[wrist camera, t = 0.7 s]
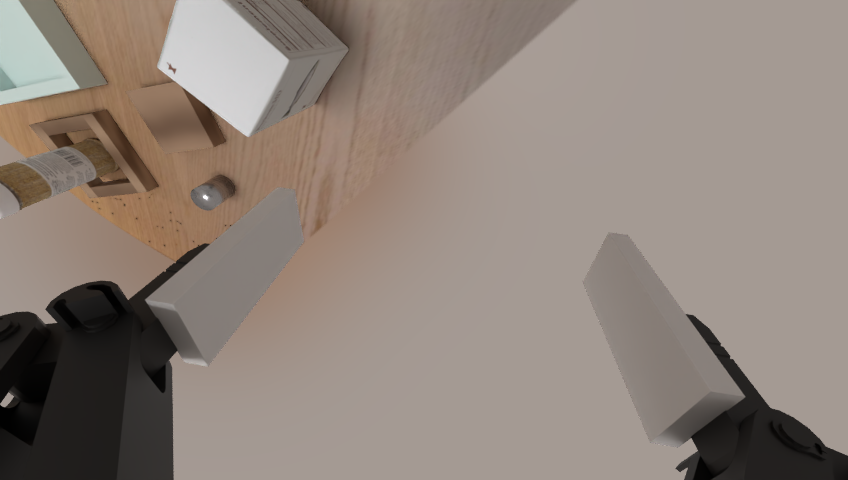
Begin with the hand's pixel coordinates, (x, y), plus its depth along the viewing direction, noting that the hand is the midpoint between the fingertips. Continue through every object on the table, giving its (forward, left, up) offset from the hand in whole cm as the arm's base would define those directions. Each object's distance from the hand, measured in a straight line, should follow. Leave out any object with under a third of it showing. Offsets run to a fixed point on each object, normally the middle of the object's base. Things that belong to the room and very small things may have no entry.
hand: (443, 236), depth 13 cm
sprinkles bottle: (-1, -47, -24) cm, 53 cm away
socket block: (-1, -47, -23) cm, 52 cm away
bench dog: (+5, -32, -23) cm, 40 cm away
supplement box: (-8, -15, -24) cm, 29 cm away
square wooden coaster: (-4, -32, -24) cm, 40 cm away
